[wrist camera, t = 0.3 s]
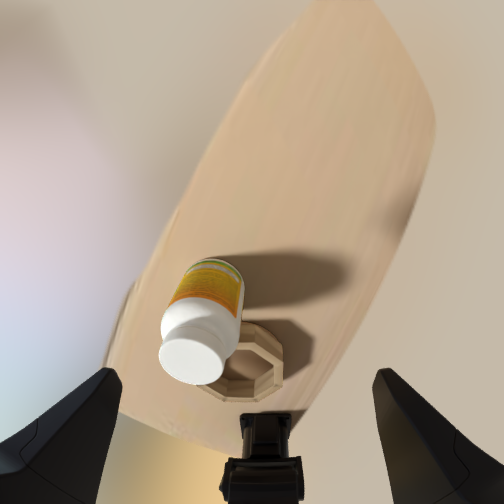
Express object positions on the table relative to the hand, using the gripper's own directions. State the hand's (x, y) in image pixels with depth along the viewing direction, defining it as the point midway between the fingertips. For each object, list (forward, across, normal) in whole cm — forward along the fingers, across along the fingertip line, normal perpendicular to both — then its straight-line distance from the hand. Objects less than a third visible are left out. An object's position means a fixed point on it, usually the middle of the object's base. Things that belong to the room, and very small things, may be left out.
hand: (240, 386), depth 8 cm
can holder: (+15, +2, +13) cm, 20 cm away
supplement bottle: (+15, +4, +5) cm, 17 cm away
